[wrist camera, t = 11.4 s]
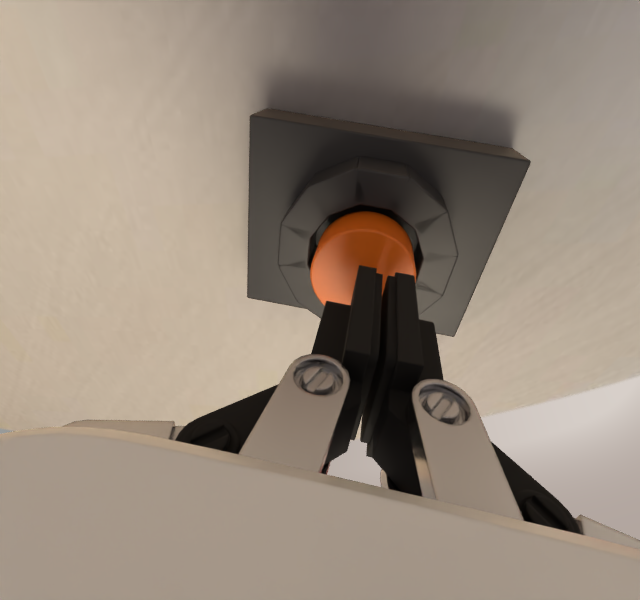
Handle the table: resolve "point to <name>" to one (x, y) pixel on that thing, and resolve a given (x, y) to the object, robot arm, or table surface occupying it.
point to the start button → (358, 254)
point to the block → (374, 204)
